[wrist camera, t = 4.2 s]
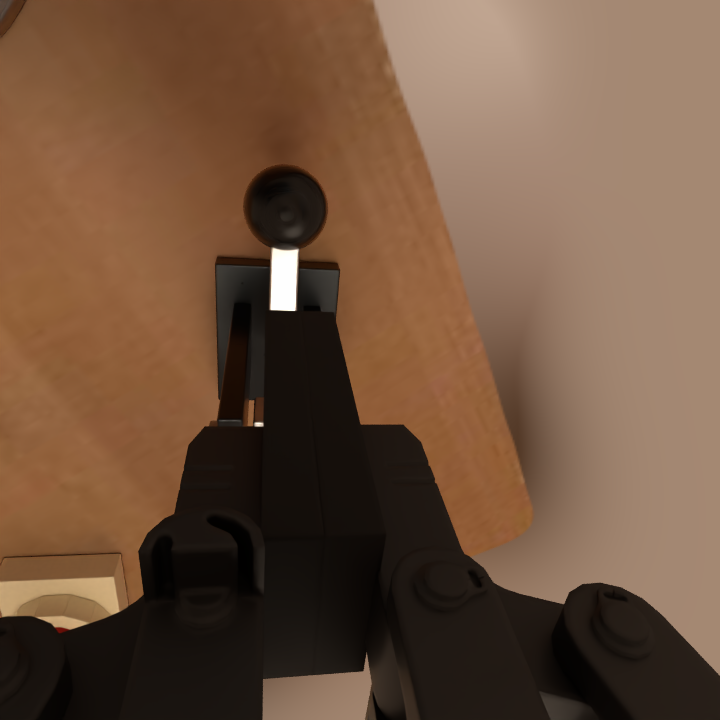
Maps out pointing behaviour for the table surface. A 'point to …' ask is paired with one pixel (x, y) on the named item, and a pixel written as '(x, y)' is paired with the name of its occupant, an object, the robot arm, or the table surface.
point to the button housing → (63, 588)
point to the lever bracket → (256, 325)
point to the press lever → (284, 230)
